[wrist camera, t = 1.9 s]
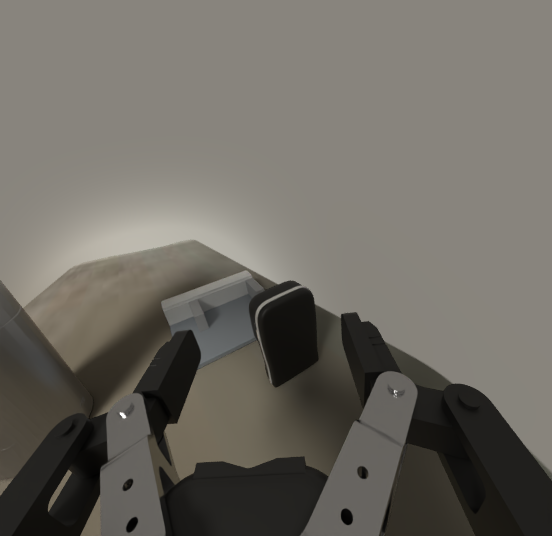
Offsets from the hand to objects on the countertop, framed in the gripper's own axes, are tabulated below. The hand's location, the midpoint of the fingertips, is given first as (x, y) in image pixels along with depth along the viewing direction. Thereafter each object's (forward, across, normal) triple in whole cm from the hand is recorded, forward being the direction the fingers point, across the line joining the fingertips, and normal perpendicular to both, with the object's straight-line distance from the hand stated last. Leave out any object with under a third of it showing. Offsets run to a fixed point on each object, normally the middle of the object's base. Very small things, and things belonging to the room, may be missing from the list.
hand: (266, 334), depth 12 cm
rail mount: (+21, +11, +16) cm, 29 cm away
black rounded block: (+11, 0, +16) cm, 20 cm away
